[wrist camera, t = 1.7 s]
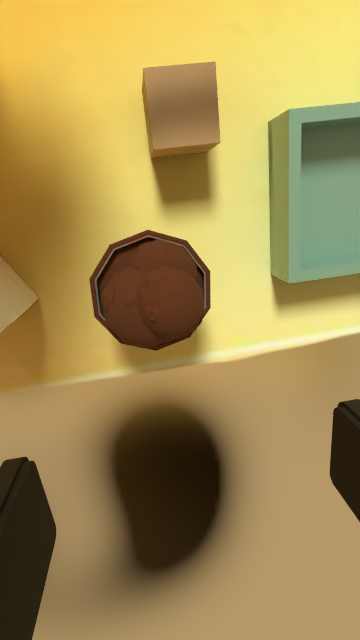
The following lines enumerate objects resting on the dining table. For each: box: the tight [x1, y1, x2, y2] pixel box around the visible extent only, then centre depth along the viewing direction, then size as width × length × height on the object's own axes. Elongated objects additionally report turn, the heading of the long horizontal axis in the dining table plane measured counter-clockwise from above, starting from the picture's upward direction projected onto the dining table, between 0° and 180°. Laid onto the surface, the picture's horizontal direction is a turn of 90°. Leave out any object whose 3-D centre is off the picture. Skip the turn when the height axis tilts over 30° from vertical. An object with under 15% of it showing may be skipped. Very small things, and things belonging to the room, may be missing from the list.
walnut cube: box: [142, 62, 220, 158], centre depth 31 cm, size 6×6×6 cm
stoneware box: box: [268, 102, 360, 284], centre depth 36 cm, size 16×16×5 cm
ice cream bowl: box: [90, 230, 210, 350], centre depth 31 cm, size 11×11×15 cm
